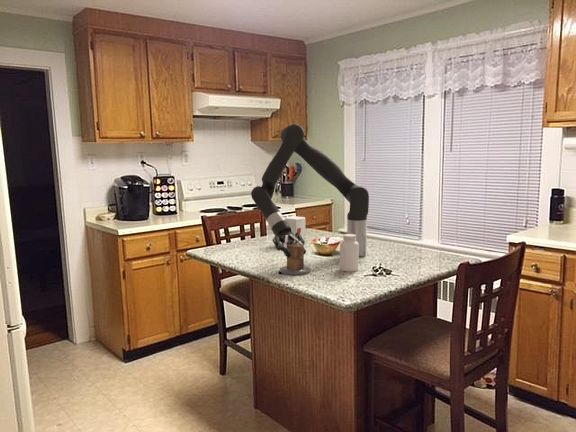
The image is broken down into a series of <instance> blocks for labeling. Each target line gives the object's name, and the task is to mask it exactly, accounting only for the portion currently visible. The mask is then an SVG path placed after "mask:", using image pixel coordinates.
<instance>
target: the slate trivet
mask: <svg viewBox="0 0 576 432" xmlns="http://www.w3.org/2000/svg"><path fill="white" fill-rule="evenodd" d="M311 270H312V269H311V268H310V267H309V266H306V265H304V269H302V270H298V271H293V270H289V269H287V265H284V266H281V267H279V273H280V272H281V273H280V274H283V275H285V274H286V276H304V275H308V274H310V273H311Z"/></svg>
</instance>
